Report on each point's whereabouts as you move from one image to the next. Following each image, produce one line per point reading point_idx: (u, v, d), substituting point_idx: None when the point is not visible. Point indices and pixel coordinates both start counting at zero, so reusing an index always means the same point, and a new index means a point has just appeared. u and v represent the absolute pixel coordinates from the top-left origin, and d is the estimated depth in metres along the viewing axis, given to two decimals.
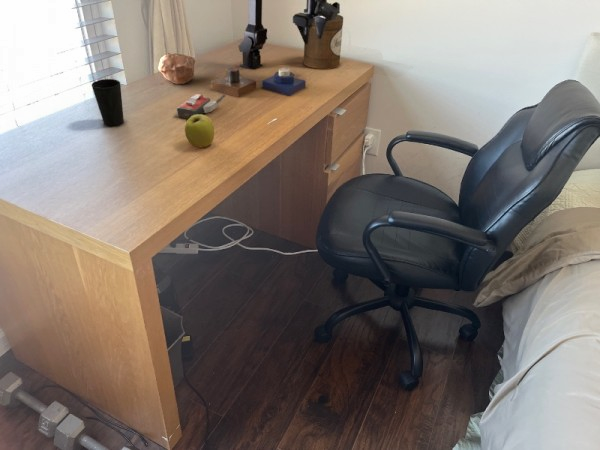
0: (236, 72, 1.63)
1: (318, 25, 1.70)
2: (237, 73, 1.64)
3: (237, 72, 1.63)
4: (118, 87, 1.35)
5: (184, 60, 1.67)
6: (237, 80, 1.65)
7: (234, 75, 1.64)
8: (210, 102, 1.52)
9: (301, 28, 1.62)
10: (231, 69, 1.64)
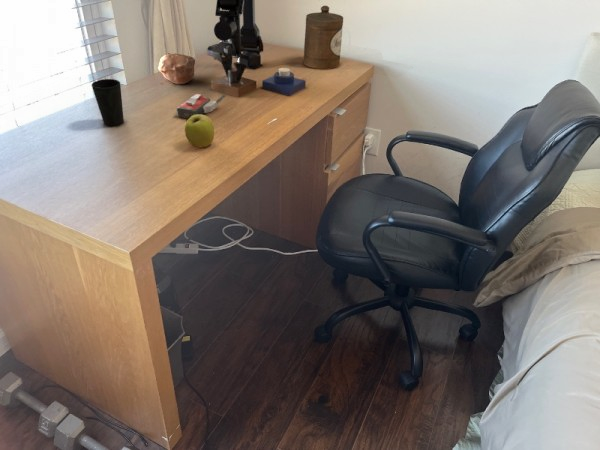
0: (236, 72, 1.63)
1: None
2: None
3: None
4: (118, 87, 1.35)
5: (184, 60, 1.67)
6: None
7: (234, 75, 1.64)
8: (210, 102, 1.52)
9: None
10: (231, 69, 1.64)
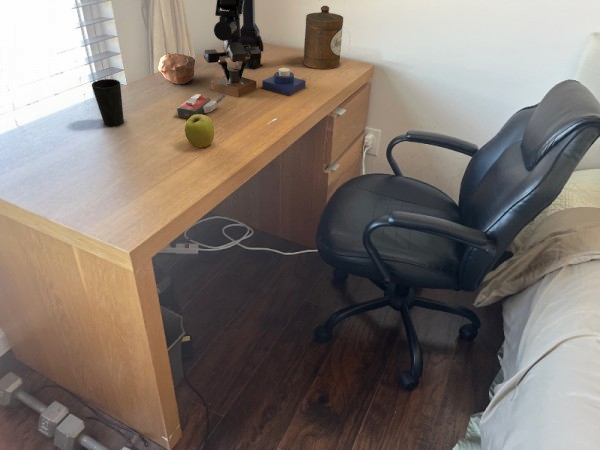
0: None
1: (239, 65, 1.65)
2: None
3: None
4: (118, 87, 1.35)
5: (184, 60, 1.67)
6: (239, 78, 1.66)
7: (239, 74, 1.65)
8: (210, 102, 1.52)
9: (221, 64, 1.63)
10: (232, 69, 1.64)
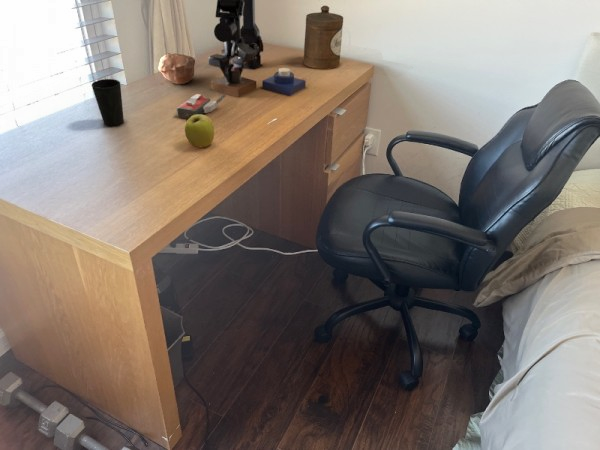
0: None
1: (235, 66, 1.66)
2: None
3: None
4: (118, 87, 1.35)
5: (184, 60, 1.67)
6: None
7: (239, 73, 1.66)
8: (210, 102, 1.52)
9: (223, 67, 1.61)
10: (233, 70, 1.64)
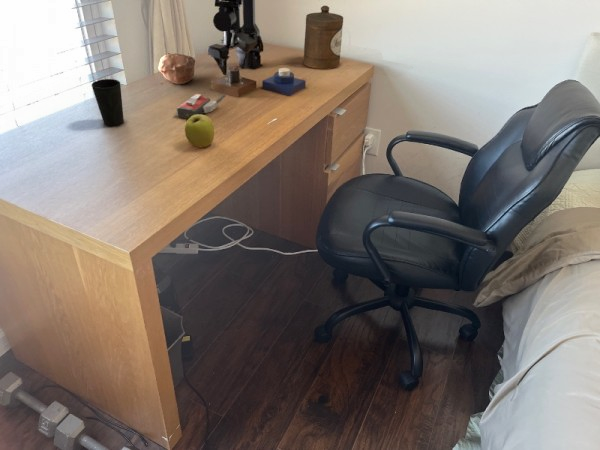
0: None
1: (239, 55, 1.66)
2: None
3: None
4: (118, 87, 1.35)
5: (184, 60, 1.67)
6: None
7: (239, 73, 1.66)
8: (210, 102, 1.52)
9: (218, 59, 1.58)
10: (233, 70, 1.64)
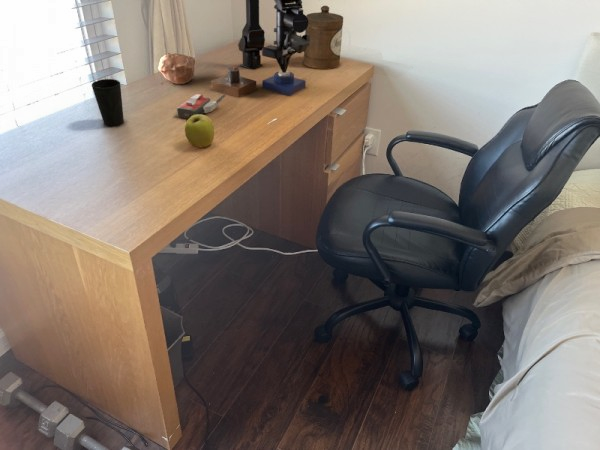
0: None
1: None
2: None
3: None
4: (118, 87, 1.35)
5: (184, 60, 1.67)
6: None
7: (239, 73, 1.66)
8: (210, 102, 1.52)
9: (278, 57, 1.64)
10: (233, 70, 1.64)
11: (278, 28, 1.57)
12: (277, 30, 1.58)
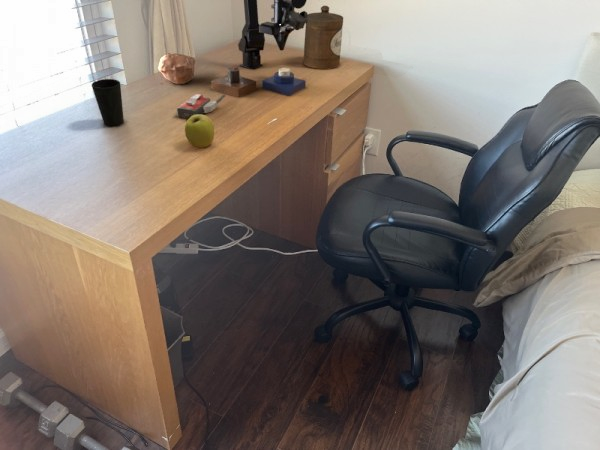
0: None
1: None
2: None
3: None
4: (118, 87, 1.35)
5: (184, 60, 1.67)
6: None
7: (239, 73, 1.66)
8: (210, 102, 1.52)
9: (276, 34, 1.62)
10: (233, 70, 1.64)
11: (276, 4, 1.56)
12: (275, 6, 1.56)
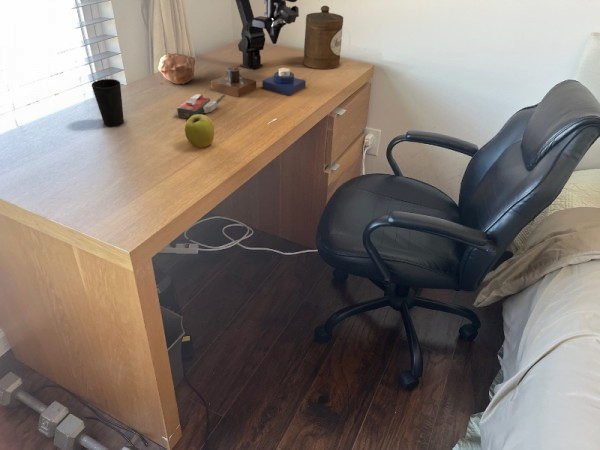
0: None
1: None
2: None
3: None
4: (118, 87, 1.35)
5: (184, 60, 1.67)
6: None
7: (239, 73, 1.66)
8: (210, 102, 1.52)
9: (269, 29, 1.70)
10: (233, 70, 1.64)
11: None
12: (267, 1, 1.64)
